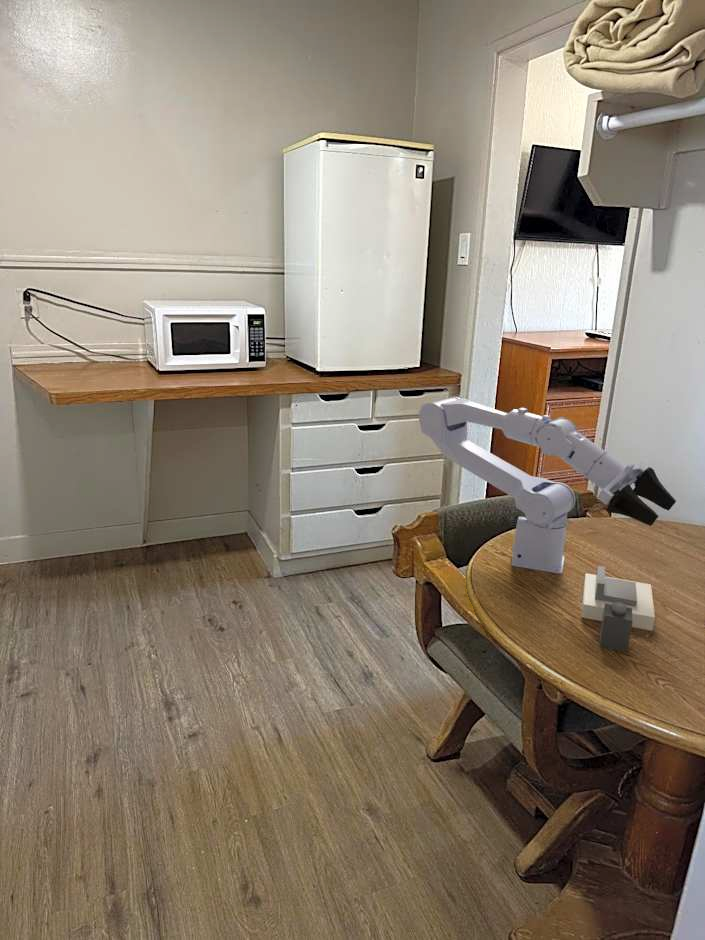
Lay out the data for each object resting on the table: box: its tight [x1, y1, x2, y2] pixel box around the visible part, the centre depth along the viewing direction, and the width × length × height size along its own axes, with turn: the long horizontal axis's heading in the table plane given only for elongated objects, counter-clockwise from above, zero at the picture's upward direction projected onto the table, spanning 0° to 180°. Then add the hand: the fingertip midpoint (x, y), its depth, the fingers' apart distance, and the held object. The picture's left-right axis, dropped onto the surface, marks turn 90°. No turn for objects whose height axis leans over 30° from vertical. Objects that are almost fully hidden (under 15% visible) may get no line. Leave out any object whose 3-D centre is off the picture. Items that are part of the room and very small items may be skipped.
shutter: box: [595, 565, 637, 606], centre depth 115 cm, size 6×7×3 cm
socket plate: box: [581, 572, 656, 632], centre depth 116 cm, size 11×12×2 cm
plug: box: [599, 602, 633, 653], centre depth 104 cm, size 4×4×7 cm
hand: (663, 513), depth 114 cm, fingers open, 7 cm apart
